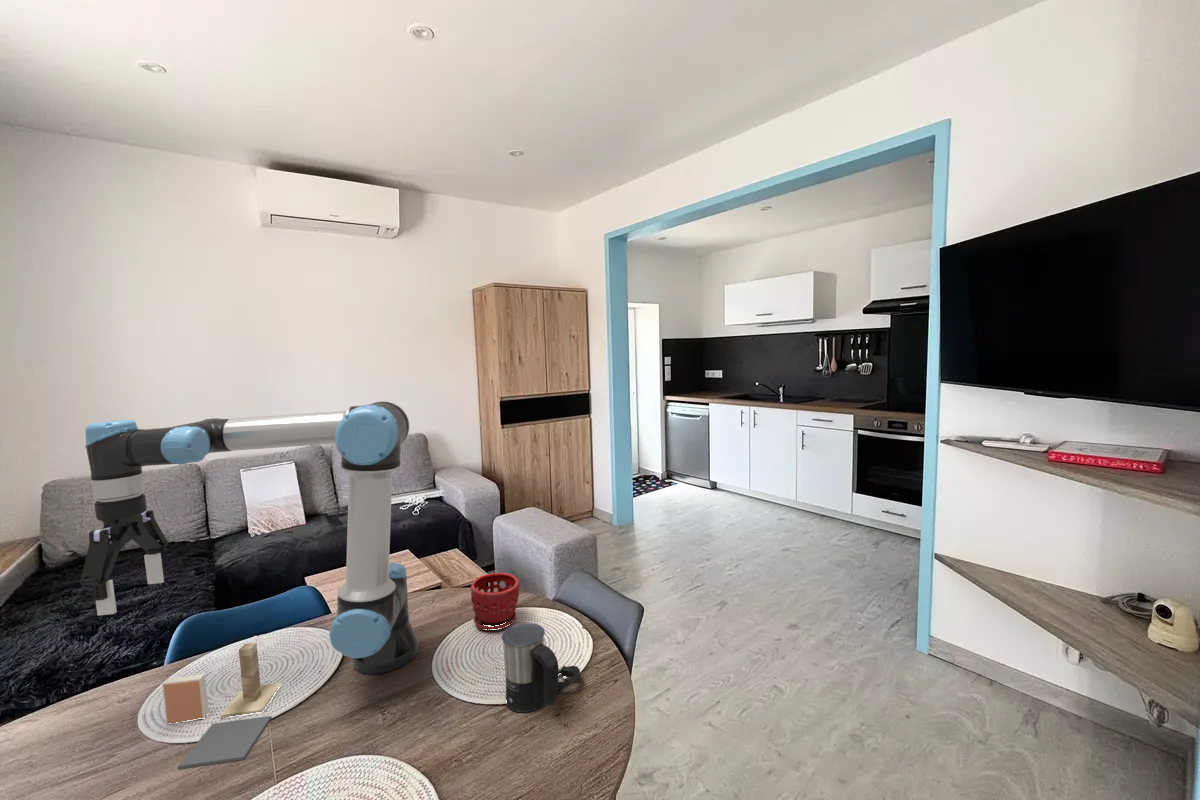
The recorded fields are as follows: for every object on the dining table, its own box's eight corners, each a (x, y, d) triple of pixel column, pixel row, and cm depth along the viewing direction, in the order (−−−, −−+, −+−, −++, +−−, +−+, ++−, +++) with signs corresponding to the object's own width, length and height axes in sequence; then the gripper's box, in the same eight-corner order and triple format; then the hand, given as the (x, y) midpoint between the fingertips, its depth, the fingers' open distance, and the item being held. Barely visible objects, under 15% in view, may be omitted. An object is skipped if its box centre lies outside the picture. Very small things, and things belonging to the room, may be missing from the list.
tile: (208, 714, 107) (204, 674, 106) (203, 720, 105) (199, 679, 105) (171, 719, 106) (167, 678, 105) (166, 725, 104) (161, 684, 103)
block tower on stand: (281, 686, 116) (277, 632, 115) (263, 714, 107) (257, 655, 106) (243, 691, 114) (238, 637, 113) (221, 719, 106) (215, 660, 104)
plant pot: (471, 638, 133) (469, 595, 132) (473, 614, 146) (471, 574, 145) (521, 632, 136) (519, 589, 135) (519, 608, 149) (517, 569, 148)
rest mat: (271, 718, 105) (271, 715, 105) (244, 759, 95) (243, 756, 94) (212, 726, 103) (212, 723, 103) (178, 769, 93) (177, 766, 93)
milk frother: (496, 707, 107) (492, 640, 106) (533, 664, 122) (530, 605, 120) (555, 724, 102) (553, 654, 100) (587, 677, 116) (585, 615, 115)
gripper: (143, 483, 113) (154, 574, 115) (42, 517, 89) (58, 632, 91) (180, 480, 115) (191, 570, 117) (91, 513, 90) (106, 626, 92)
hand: (133, 597), depth 104 cm, fingers open, 13 cm apart
